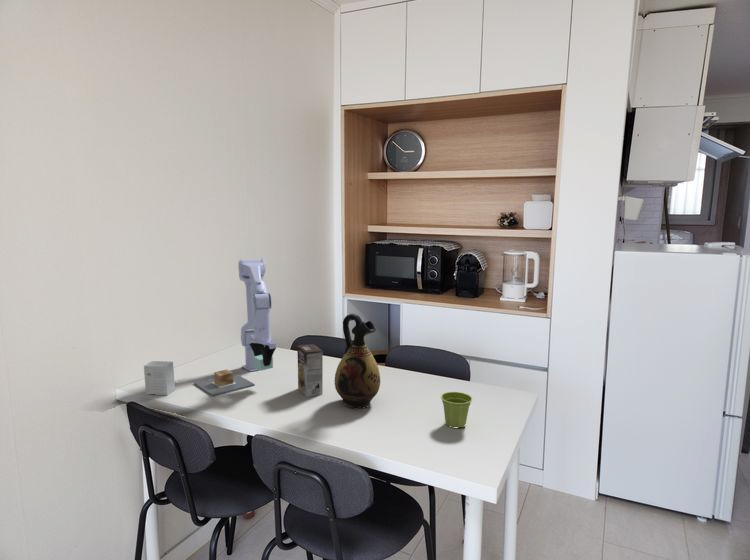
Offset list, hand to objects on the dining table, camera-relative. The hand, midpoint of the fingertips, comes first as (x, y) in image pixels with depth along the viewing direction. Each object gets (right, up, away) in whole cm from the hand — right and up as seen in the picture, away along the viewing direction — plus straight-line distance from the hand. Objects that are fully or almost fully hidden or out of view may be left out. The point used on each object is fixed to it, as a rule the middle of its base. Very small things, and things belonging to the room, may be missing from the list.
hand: (263, 363), depth 179 cm
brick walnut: (-15, -8, +3) cm, 17 cm away
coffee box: (+17, -10, -2) cm, 20 cm away
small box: (-35, -10, -4) cm, 37 cm away
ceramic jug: (+34, -11, -11) cm, 37 cm away
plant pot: (+65, -14, -28) cm, 72 cm away
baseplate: (-15, -8, +3) cm, 17 cm away
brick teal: (0, -1, 0) cm, 1 cm away
